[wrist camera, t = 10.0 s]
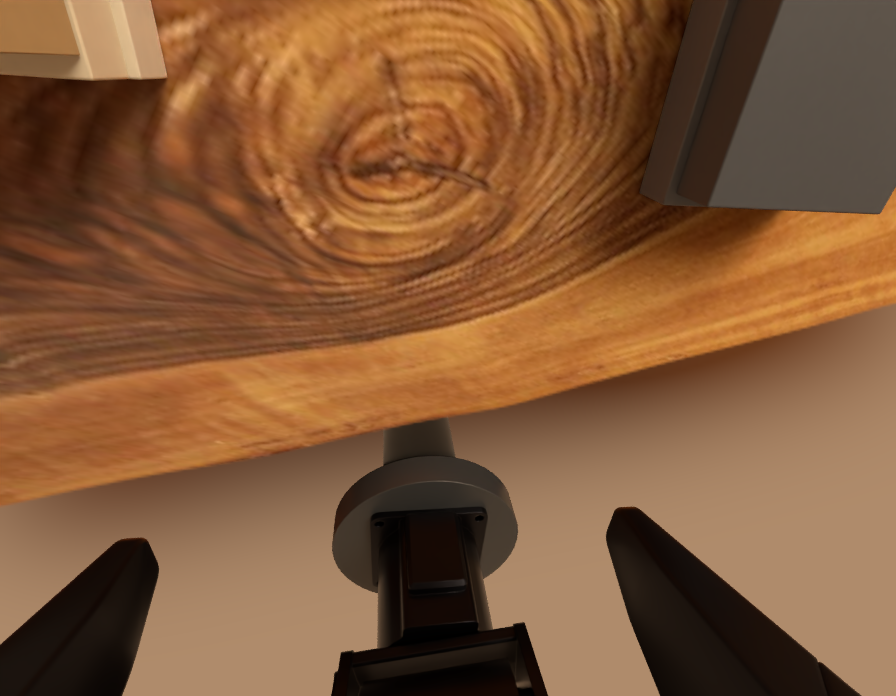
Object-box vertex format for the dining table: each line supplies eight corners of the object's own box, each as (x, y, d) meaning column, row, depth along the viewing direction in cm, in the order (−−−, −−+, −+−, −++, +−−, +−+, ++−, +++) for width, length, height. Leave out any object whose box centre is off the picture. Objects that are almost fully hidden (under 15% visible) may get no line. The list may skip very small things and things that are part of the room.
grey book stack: (794, 200, 20) (877, 227, 17) (638, 193, 19) (692, 220, 16) (937, -109, 15) (1099, -161, 11) (732, -142, 14) (844, -210, 10)
